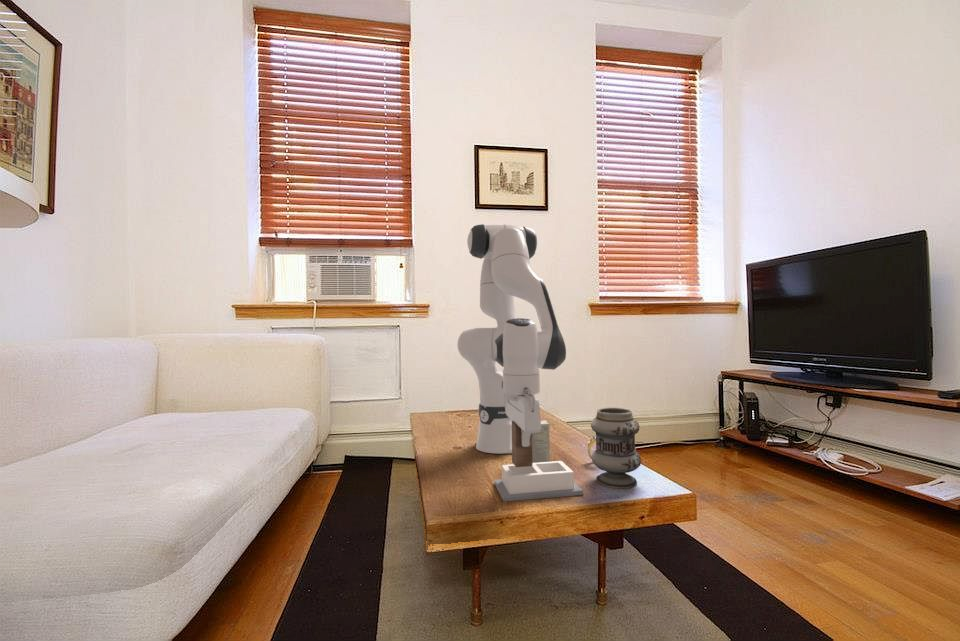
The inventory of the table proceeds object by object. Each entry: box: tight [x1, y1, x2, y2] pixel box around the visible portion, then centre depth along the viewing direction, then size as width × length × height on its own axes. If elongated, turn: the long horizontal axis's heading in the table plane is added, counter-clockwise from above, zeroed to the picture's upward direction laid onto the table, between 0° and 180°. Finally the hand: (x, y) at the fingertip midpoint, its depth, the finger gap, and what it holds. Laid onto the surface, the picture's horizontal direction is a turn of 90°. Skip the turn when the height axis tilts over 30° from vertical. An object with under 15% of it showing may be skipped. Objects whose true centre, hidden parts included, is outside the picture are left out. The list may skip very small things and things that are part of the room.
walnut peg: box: [511, 421, 532, 467], centre depth 103 cm, size 4×4×10 cm
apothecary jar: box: [590, 407, 642, 489], centre depth 108 cm, size 12×12×18 cm
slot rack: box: [493, 460, 584, 502], centre depth 104 cm, size 19×11×5 cm, turn 99°
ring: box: [586, 433, 596, 460], centre depth 123 cm, size 7×3×8 cm, turn 93°
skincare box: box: [532, 419, 551, 463], centre depth 122 cm, size 6×4×12 cm
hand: (522, 442), depth 103 cm, fingers closed on walnut peg, 4 cm apart
